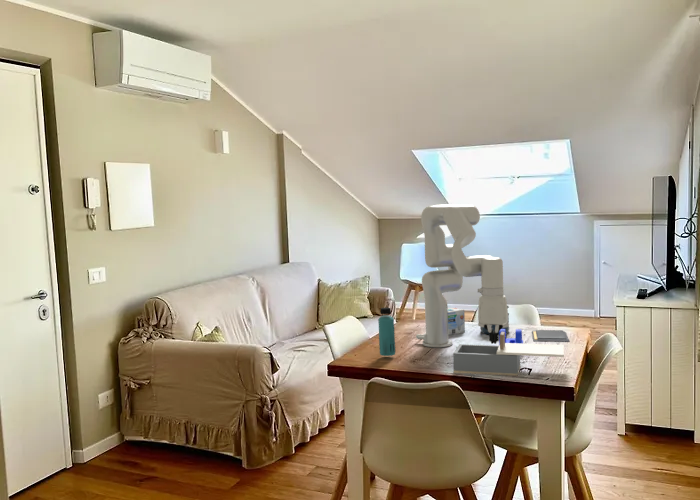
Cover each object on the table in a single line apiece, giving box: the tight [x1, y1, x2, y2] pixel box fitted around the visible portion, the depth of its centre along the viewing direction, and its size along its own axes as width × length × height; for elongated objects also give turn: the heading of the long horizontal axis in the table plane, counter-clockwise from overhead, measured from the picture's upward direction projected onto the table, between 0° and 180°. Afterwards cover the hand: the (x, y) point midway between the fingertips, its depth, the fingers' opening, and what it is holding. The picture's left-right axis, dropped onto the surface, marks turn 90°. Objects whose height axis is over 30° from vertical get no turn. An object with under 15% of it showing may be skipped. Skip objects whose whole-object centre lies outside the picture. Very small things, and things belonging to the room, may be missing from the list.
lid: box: [497, 332, 565, 358], centre depth 211 cm, size 22×14×6 cm, turn 70°
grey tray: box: [452, 343, 521, 377], centre depth 217 cm, size 22×14×7 cm, turn 70°
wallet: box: [531, 329, 570, 343], centre depth 263 cm, size 20×2×15 cm
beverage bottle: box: [377, 307, 396, 357], centre depth 238 cm, size 6×7×20 cm
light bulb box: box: [448, 307, 466, 336], centre depth 279 cm, size 11×7×11 cm, turn 119°
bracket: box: [498, 328, 524, 346], centre depth 246 cm, size 18×8×9 cm, turn 161°
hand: (493, 342), depth 216 cm, fingers closed
